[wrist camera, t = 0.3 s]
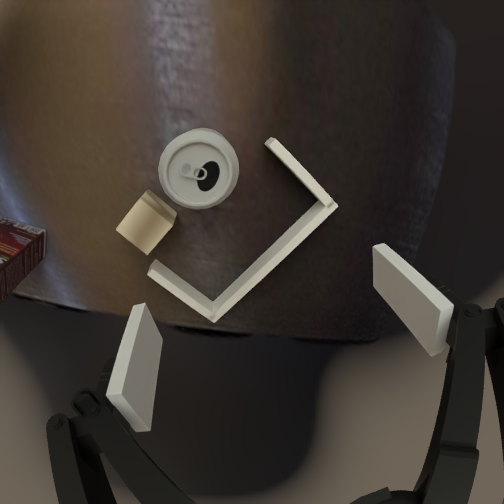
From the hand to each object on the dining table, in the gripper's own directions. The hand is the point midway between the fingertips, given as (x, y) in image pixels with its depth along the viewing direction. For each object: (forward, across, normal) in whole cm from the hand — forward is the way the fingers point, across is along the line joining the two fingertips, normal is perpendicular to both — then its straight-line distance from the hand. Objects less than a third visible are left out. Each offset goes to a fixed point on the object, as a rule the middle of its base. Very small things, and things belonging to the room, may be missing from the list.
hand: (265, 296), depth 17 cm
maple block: (+25, -11, 0) cm, 27 cm away
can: (+25, -3, +5) cm, 26 cm away
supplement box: (+25, -32, +3) cm, 41 cm away
